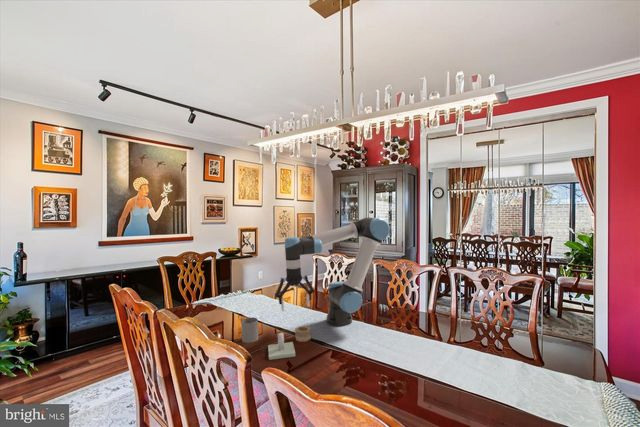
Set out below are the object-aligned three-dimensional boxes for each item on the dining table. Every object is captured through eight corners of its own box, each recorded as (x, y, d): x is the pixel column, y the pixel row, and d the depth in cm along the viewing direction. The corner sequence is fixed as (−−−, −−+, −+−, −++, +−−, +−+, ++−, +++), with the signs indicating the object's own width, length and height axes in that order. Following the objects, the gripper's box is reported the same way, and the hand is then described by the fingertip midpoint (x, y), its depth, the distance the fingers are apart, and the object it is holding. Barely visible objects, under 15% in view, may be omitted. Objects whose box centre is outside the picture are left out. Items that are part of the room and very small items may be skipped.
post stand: (292, 345, 151) (292, 327, 151) (295, 356, 139) (294, 337, 139) (268, 348, 149) (267, 330, 149) (268, 359, 137) (268, 341, 137)
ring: (309, 334, 163) (308, 325, 162) (311, 340, 155) (311, 330, 155) (295, 336, 161) (294, 327, 161) (296, 342, 154) (296, 332, 154)
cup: (254, 343, 155) (253, 323, 155) (239, 342, 157) (238, 323, 156) (260, 336, 163) (260, 317, 163) (246, 335, 165) (245, 317, 165)
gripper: (314, 263, 165) (316, 302, 165) (268, 268, 158) (270, 309, 158) (318, 266, 157) (320, 306, 158) (270, 271, 150) (272, 314, 151)
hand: (295, 308), depth 158 cm, fingers open, 13 cm apart
